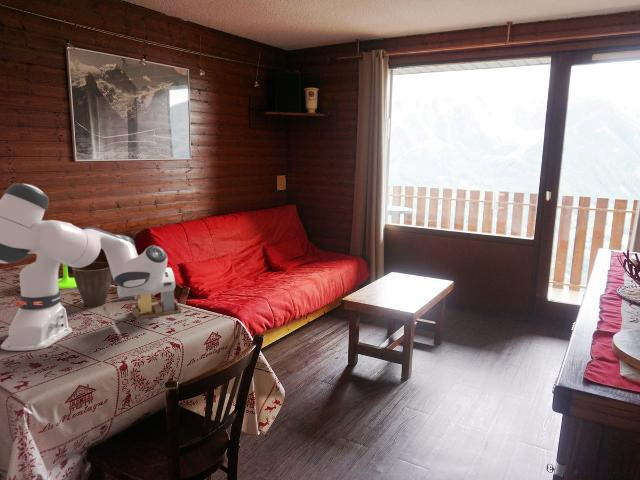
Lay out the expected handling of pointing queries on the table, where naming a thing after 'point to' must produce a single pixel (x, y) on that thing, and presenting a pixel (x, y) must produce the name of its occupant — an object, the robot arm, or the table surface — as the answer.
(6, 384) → the table surface
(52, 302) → the robot arm
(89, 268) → the plant pot
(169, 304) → the plug grey
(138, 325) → the table surface
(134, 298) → the phone
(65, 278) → the wineglass
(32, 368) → the table surface
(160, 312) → the slot rack
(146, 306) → the plug ochre
